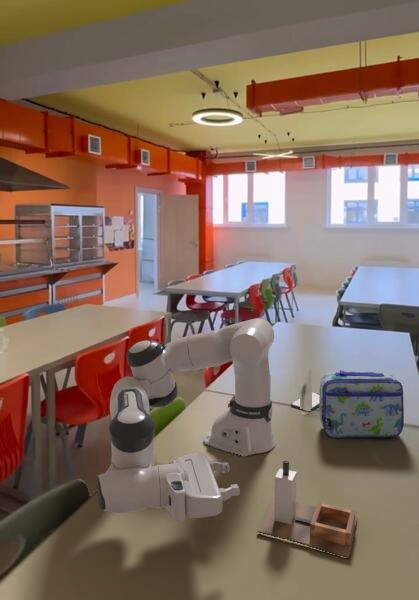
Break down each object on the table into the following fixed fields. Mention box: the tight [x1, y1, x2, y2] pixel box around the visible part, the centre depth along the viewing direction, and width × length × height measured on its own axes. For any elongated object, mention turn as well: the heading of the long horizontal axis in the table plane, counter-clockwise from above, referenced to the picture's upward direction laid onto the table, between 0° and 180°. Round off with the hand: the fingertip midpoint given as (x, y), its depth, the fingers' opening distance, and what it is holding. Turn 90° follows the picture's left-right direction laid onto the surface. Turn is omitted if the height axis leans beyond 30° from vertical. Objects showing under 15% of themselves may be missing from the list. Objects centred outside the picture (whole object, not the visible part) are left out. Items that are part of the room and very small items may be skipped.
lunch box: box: [318, 369, 405, 439], centre depth 153 cm, size 26×11×21 cm, turn 84°
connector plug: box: [274, 460, 297, 524], centre depth 109 cm, size 4×4×14 cm
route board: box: [257, 496, 358, 559], centre depth 108 cm, size 20×14×4 cm
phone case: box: [290, 391, 320, 411], centre depth 181 cm, size 9×2×16 cm
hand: (233, 477), depth 106 cm, fingers open, 8 cm apart
